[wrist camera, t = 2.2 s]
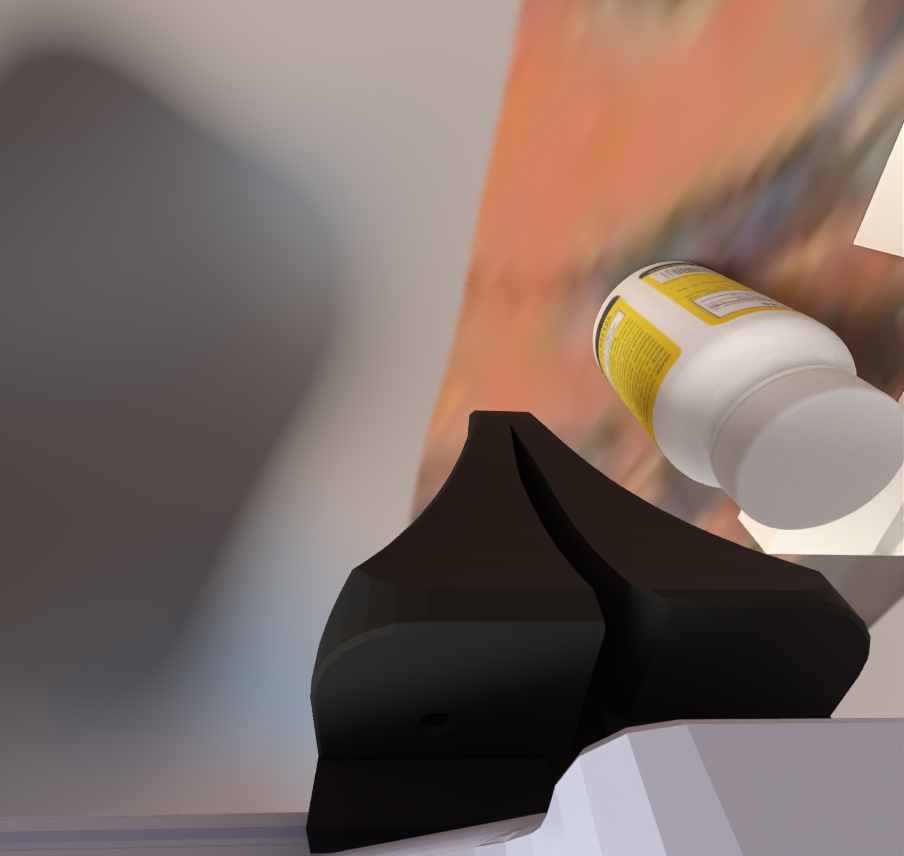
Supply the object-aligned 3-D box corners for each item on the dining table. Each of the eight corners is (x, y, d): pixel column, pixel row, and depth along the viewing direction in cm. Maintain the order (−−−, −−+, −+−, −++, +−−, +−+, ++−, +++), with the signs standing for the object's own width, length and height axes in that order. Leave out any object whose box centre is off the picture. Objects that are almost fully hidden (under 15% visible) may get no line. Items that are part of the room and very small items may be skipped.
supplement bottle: (634, 412, 22) (760, 584, 14) (563, 322, 20) (660, 460, 12) (750, 333, 21) (974, 472, 12) (686, 225, 18) (904, 303, 10)
